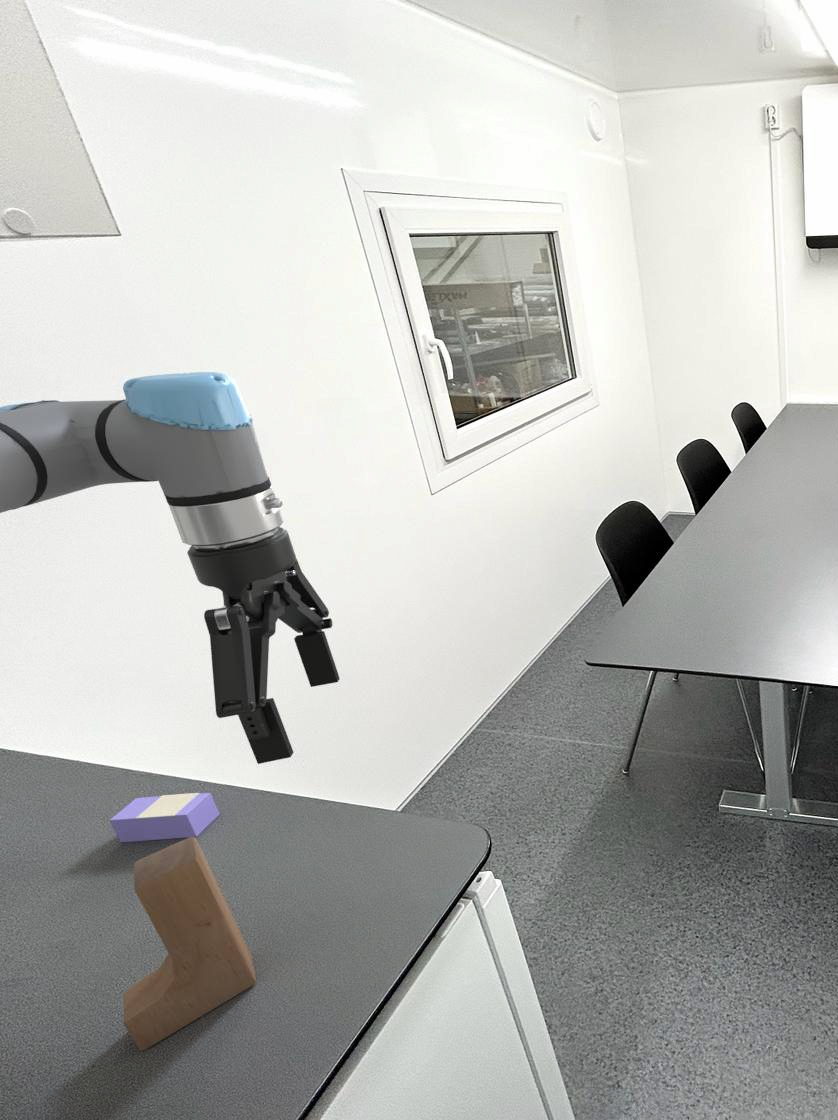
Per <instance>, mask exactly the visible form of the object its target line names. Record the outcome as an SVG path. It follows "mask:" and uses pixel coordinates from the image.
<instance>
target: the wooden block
mask: <svg viewBox="0 0 838 1120" xmlns="http://www.w3.org/2000/svg"><path fill="white" fill-rule="evenodd" d="M133 888H134V892H135V894H136V895H137V897H138V899H139V901H140V903H141V905H142V908H143V909H144V910H145V912H146V914H147V916H148V918H149V921H150V922H151V923H152V925H153V927H154V929H155V931H156V933H157V935H158V936H159V938H160V940H161V942H162V944H163V946H164V947H165V949H166V952H167V953H168V955H167V956H166V957H165V959H164V960H163V962H162V963H161V964H160V966H159V967H158V968H157V969H155V970H154V971H152V972H151V973H150V974H148V975H147V976H145V977H144V978H142V979H140V980H139V981H137V982H136V983H134V984H133V985H131V986H130V987H128V988H127V989H126V990H125V991H124V992H123V993H124V994H123V1025H124V1027H125V1029H126V1030H127V1032H128V1033H129V1035H130V1037H131V1039H132V1040H133V1042H134V1043H135V1045H136V1047H137V1049H138V1050H140V1051H146V1050H148V1049H149V1048H151V1047H153V1046H154V1045H156V1044H157V1043H159V1042H161V1041H163V1040H165V1039H166V1038H168V1037H169V1036H171V1035H173V1034H174V1033H176V1032H178V1031H179V1030H181V1029H182V1028H185V1027H187V1026H188V1025H190V1024H191V1023H193V1022H194V1021H197V1020H198V1019H200V1018H201V1017H203V1016H205V1015H206V1014H208V1013H210V1012H211V1011H213V1010H214V1009H216V1008H218V1007H220V1006H222V1005H223V1004H224V1003H226V1002H228V1001H229V1000H231V999H233V998H234V997H236V996H238V995H240V994H241V993H244V991H246V990H248V989H250V988H252V987H253V986H254V985H255V984H256V982H257V976H256V971H255V966H254V961H253V955H252V954H251V952H250V950H249V948H248V945H247V943H246V941H245V939H244V937H243V935H242V933H241V930H240V928H239V926H238V924H237V922H236V920H235V917H234V916H233V914H232V911H231V908H230V907H229V904H228V903H227V901H226V899H225V897H224V895H223V893H222V890H221V888H220V886H219V884H218V882H217V879H216V878H215V876H214V874H213V871H212V869H211V868H210V865H209V863H208V860H207V859H206V857H205V855H204V852H203V850H202V848H201V845H200V844H199V842H198V840H197V837H188V838H184V839H183V840H180V841H178V842H176V843H173V844H171V845H168V846H167V847H164V848H162V849H160V850H158V851H155V852H153V853H151V854H149V855H147V856H145V857H142V858H140V859H137V861H135V862H134V863H133Z"/></svg>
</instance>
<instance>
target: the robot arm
mask: <svg viewBox="0 0 838 1120" xmlns="http://www.w3.org/2000/svg"><path fill="white" fill-rule="evenodd" d="M122 390H123V393H124V398H125V399H119V400H118V399H117V400H116V399H113V400H74V401H73V400H72V401H71V400H69V401H59V400H56V399H55V400H53V399H52V400H44V399H42V400H39V401H33V402H23V403H18V404H9V405H8V404H7V405H3V406H0V514H1V513H5V512H8V511H11V510H12V511H13V510H17V509H21V508H23V507H28V506H31V505H35V504H39V503H41V502H42V503H43V502H44V501H48V500H52V499H55V498H58V497H61V496H66V495H69V494H72V493H76V492H79V491H83V490H85V489H89V488H92V487H93V488H94V487H98V486H103V485H111V484H112V485H113V484H125V483H127V484H128V483H151V482H152V483H153V482H158V483H159V486H160V488H161V490H162V492H163V495H164V498H165V500H166V503H167V505H168V507H169V509H170V513H171V514H172V518H173V521H174V523H175V526H176V528H177V531H178V534H179V536H180V540H181V542H182V543H183V544H185V545H188V546H190V547H189V549H188V550H187V556H188V558H189V561H190V563H191V566H192V569H193V571H194V574H195V576H196V579H197V581H198V582H199V583H200V584H201V585H203V586H206V587H210V588H211V587H212V588H215V589H218V590H220V591H221V592H222V598H223V606H222V607H217V608H212V609H206V610H205V611H204V614H203V618H204V619H203V620H204V622H205V625H206V628H207V631H208V634H209V635H208V636H209V642H210V654H211V667H212V680H213V692H214V693H213V694H214V705H215V714H216V717H217V718H218V719H222V718H229V717H234V716H238V719H239V722H240V723H241V726H242V728H243V731H244V733H245V736H246V739H247V741H248V744H249V746H250V748H251V751H252V754H253V756H254V759H255V760H256V763H257V765H260V764H264V763H265V764H266V763H270V762H274V761H278V760H279V761H280V760H284V759H289V758H292V756H293V754H294V750H293V747H292V745H291V742H290V741H291V740H290V739H289V736H288V733H287V732H286V729H285V726H284V723H283V721H282V718H281V715H280V713H279V710H278V707H277V705H276V702H275V699H274V698H273V697H271V698H267V696H268V674H269V653H270V651H269V650H270V638H271V637H272V636H274V635H275V634H276V628H277V627H276V626H277V622H278V620H279V621H281V622H282V623H283V624H285V625H286V626H288V627H289V628H290V629H291V630H293V631H295V633H297V634H298V635H295V637H294V638H293V640H294V643H295V646H296V649H297V651H298V654H299V657H300V659H301V663H302V665H303V669H304V672H305V674H306V677H307V680H308V683H309V686H310V688H312V687H318V686H324V685H325V686H326V685H329V684H336V683H338V682H339V681H340V679H341V678H340V676H339V675H340V674H339V673H338V668H337V666H336V662H335V660H334V657H333V654H332V651H331V648H330V646H329V642H328V638H327V636H326V633H325V631H324V630H326V629H328V630H329V629H332V627H333V620H332V618H331V617H330V618H329V614H330V611H329V608H328V607H327V606H326V604H325V603H324V601H323V600H322V599H321V597H320V595H319V594H318V593H317V591H316V589H314V587H313V586H312V584H311V583H310V582H309V579H308V578H307V576H305V574H304V573H303V571H302V569H301V566H300V563H299V561H298V558H297V555H296V553H295V549H294V546H293V543H292V540H291V538H290V535H289V531H288V530H287V529H285V528H284V527H281V526H282V525H283V523H284V518H283V515H282V512H281V510H280V508H281V507H282V506H283V500H282V499H281V498H280V497H276V494H275V492H274V488H273V486H272V482H271V480H270V477H269V476H268V474H267V470H266V466H265V464H264V459H263V455H262V452H261V449H260V446H259V443H258V438H257V434H256V431H255V428H254V424H253V421H254V419H253V417H252V414H251V413H250V412H249V410H248V408H247V406H246V403H245V401H244V399H243V396H242V393H241V391H240V389H239V387H238V384H237V382H236V381H235V379H233V378H232V377H230V376H229V375H227V374H225V373H222V372H217V371H195V372H187V373H186V372H184V373H178V372H177V373H165V374H153V375H147V376H145V375H144V376H138V377H134V378H129V379H128V380H126V381H124V383H123V386H122Z"/></svg>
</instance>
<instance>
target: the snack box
mask: <svg viewBox="0 0 838 1120" xmlns="http://www.w3.org/2000/svg"><path fill="white" fill-rule="evenodd" d="M220 814H221V813H220V811H219V810H218V807H217V804H216V802H215V801H214V798H213V796H212V794H211V792H204V793H203V792H201V793H200V792H190V793H189V792H188V793H177V794H163V795H161V796H159V795H158V796H147V797H145V796H144V797H136V798H134V799H133V800H131V802H130V803H128V804H127V805H126V806H124V807H123V808H122V809H121V810H120V811H119V812H117V813H116V814H115V815H114V816H112V817H111V818H110V819H109V823H110V825H111V826H112V828H113V830H114V832H115V834H116V836H117V838H118V839H119V841H120V843H132V842H133V843H134V842H148V841H158V840H160V841H161V840H172V839H187V838H189V837H194V838H197V837H198V836H200V835H201V833H203V831H205V829H206V828H208V827H209V826H210V825H211V824H212V823H213V822H214V821H216V819H217V818H218V817H219V816H220Z"/></svg>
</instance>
